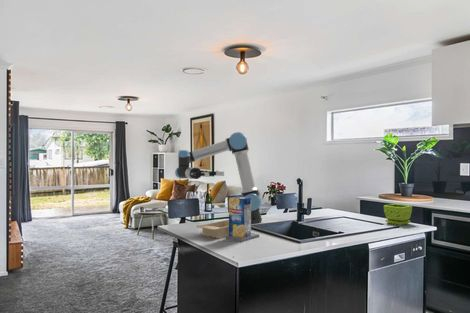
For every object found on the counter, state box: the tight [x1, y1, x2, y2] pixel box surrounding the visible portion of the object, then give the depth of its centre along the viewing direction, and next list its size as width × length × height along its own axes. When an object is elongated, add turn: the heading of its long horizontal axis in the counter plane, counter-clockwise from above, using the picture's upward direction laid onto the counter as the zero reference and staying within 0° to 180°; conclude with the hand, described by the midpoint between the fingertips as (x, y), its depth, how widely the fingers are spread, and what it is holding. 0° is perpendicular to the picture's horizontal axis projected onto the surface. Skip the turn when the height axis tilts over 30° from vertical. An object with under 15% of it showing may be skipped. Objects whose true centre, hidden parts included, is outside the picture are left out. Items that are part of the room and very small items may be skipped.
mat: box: [225, 232, 260, 243], centre depth 205 cm, size 16×12×2 cm
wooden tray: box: [196, 219, 229, 240], centre depth 215 cm, size 29×15×6 cm, turn 139°
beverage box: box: [228, 195, 252, 238], centre depth 204 cm, size 7×11×22 cm, turn 53°
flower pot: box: [383, 203, 413, 226], centre depth 248 cm, size 14×14×13 cm
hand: (216, 174), depth 224 cm, fingers open, 13 cm apart
